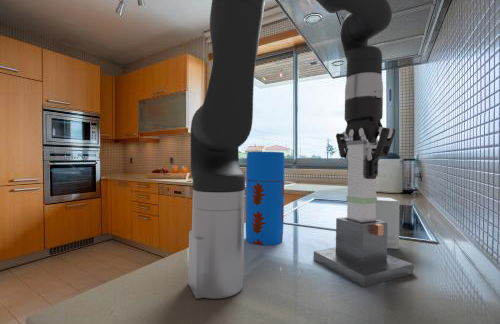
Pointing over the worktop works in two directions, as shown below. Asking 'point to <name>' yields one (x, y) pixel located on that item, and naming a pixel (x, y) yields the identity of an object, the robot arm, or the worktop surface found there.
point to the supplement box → (389, 219)
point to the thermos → (264, 197)
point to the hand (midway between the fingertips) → (361, 177)
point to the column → (360, 185)
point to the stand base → (362, 254)
